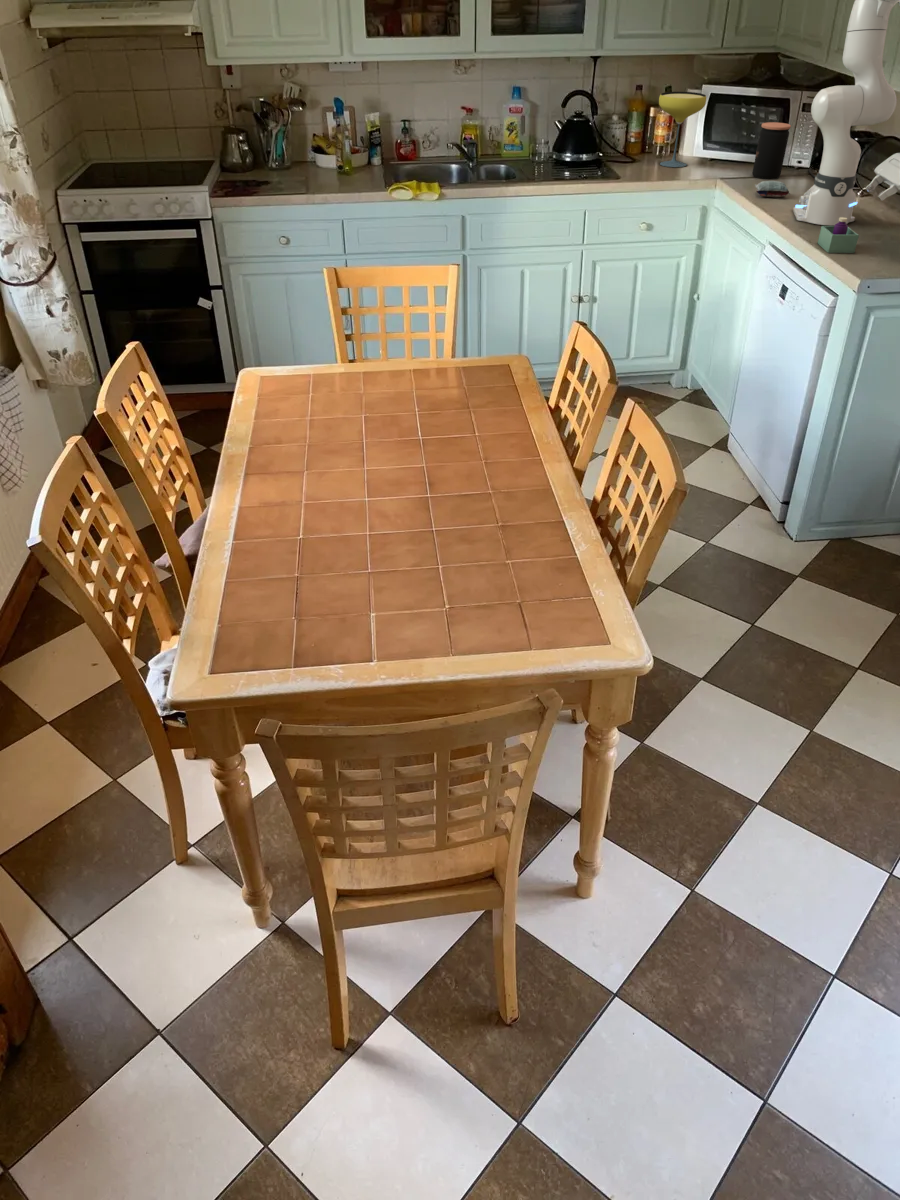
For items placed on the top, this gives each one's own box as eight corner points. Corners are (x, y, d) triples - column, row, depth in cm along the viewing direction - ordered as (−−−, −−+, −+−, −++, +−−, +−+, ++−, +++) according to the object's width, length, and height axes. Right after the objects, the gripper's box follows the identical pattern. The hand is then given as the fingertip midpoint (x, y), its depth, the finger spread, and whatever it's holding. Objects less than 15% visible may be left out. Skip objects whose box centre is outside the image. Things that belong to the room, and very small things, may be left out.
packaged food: (753, 192, 324) (756, 177, 321) (787, 193, 322) (790, 179, 319) (754, 198, 317) (757, 183, 314) (789, 200, 315) (792, 185, 312)
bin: (817, 243, 272) (821, 225, 269) (842, 243, 272) (847, 226, 268) (828, 252, 264) (832, 235, 261) (854, 252, 264) (859, 235, 261)
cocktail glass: (646, 167, 358) (655, 96, 342) (656, 158, 371) (665, 90, 356) (691, 171, 352) (702, 99, 337) (699, 162, 365) (710, 93, 350)
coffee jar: (760, 172, 350) (770, 121, 339) (785, 176, 344) (796, 124, 333) (746, 176, 344) (756, 124, 333) (771, 180, 338) (782, 128, 327)
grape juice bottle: (827, 244, 269) (834, 216, 264) (840, 244, 269) (847, 216, 264) (831, 247, 266) (839, 219, 261) (844, 248, 266) (852, 219, 261)
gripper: (898, 141, 259) (855, 177, 265) (927, 156, 243) (880, 194, 249) (908, 158, 262) (866, 193, 268) (938, 174, 246) (891, 211, 252)
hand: (873, 194), depth 258 cm, fingers open, 8 cm apart
